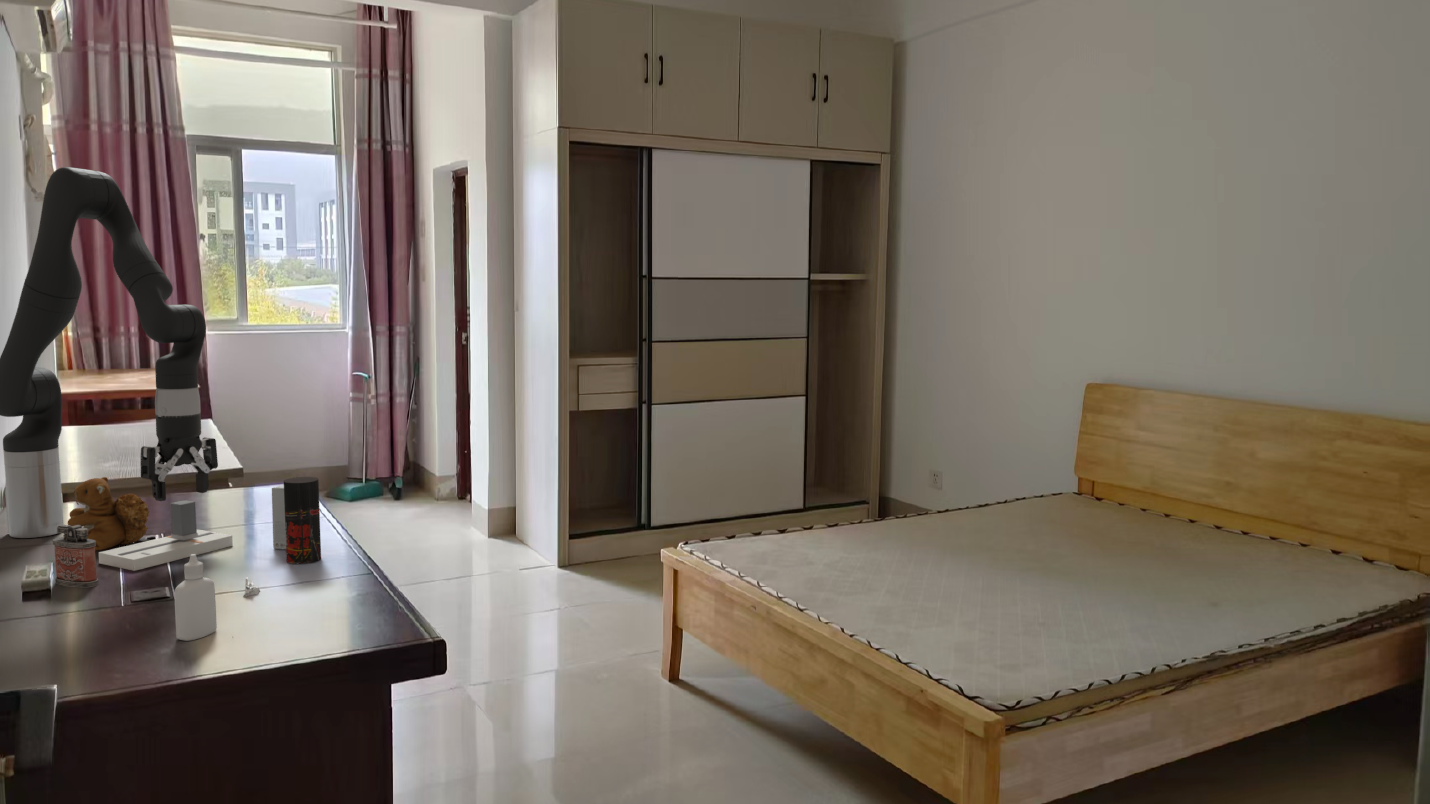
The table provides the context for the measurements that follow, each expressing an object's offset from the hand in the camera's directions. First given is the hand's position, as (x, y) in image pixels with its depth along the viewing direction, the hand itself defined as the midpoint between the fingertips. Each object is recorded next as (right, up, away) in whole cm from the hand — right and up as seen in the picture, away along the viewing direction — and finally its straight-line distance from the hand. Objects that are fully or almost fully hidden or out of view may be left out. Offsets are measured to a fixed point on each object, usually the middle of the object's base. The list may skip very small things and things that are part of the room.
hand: (181, 496), depth 195 cm
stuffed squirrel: (-16, -10, +5) cm, 19 cm away
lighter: (-7, -13, -21) cm, 25 cm away
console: (-1, -11, -2) cm, 11 cm away
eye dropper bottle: (+26, -16, -45) cm, 54 cm away
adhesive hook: (+26, -14, -25) cm, 39 cm away
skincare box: (+19, -10, +5) cm, 22 cm away
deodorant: (+25, -12, -5) cm, 28 cm away
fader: (0, -8, +1) cm, 8 cm away
